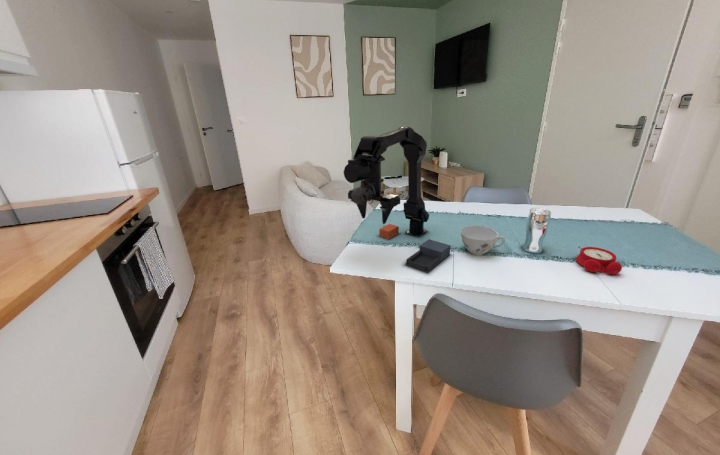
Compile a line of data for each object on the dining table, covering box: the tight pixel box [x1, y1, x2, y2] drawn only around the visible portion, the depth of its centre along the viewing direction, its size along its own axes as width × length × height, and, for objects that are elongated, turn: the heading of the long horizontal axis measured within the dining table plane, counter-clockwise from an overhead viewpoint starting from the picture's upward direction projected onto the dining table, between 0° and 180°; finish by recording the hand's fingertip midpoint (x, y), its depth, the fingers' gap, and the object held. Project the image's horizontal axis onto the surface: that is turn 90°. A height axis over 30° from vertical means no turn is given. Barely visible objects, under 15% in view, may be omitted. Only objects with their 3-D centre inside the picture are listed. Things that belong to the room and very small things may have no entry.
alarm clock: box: [575, 246, 623, 275], centre depth 93 cm, size 10×6×15 cm
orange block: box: [378, 223, 400, 240], centre depth 124 cm, size 7×5×4 cm
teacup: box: [460, 224, 506, 256], centre depth 105 cm, size 15×12×8 cm
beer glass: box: [522, 207, 552, 254], centre depth 104 cm, size 7×7×15 cm
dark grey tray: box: [404, 238, 452, 274], centre depth 102 cm, size 16×9×4 cm, turn 138°
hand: (373, 220), depth 101 cm, fingers open, 9 cm apart
